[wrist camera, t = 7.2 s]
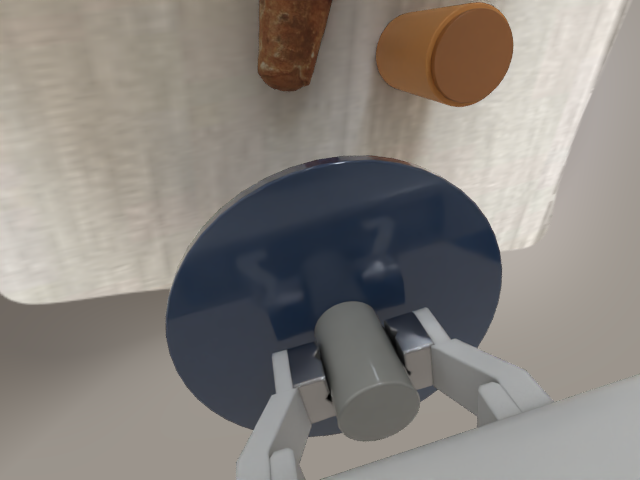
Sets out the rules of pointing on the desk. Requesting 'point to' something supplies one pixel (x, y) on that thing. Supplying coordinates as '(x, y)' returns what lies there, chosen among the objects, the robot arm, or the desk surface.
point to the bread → (290, 41)
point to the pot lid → (330, 287)
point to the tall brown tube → (447, 53)
